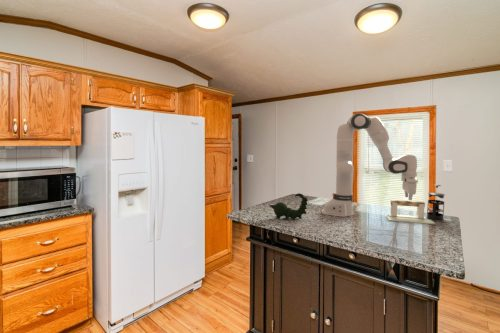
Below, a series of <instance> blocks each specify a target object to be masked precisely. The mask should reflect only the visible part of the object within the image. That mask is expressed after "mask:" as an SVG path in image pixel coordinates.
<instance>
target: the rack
mask: <svg viewBox="0 0 500 333" xmlns="http://www.w3.org/2000/svg"><path fill="white" fill-rule="evenodd" d="M425 206H426V203H425V204H419V207H416V215H408V214H398V205H397V203H394V202H392V205H391V204H390V213H388V217H400V218H413V219H427V217H426V216H425Z"/></svg>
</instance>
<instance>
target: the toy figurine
mask: <svg viewBox="0 0 500 333" xmlns="http://www.w3.org/2000/svg"><path fill="white" fill-rule="evenodd" d="M294 197H295V198H297V197H299V198H300V199H301V201H300V205H299V207H298V209H293V208H291V207H288V205H287V204H286V203H285V202H283V201H281V202H280V201H279V202H276V203H275V204H269V207H271V209H273V213H274V214H275V218H276V219H278V218H279V219H281V217H285V218H284V219H286V220H289V219H290V218H291V220H293V219H295V220H296V219H297V218H298V220H299V219H300V220H302V215H306V214H307V211H306V210H307V209H308V208H307V205H308V197H306V196H304V194H302V193H299V192H298V193H297V194H295V195H294Z"/></svg>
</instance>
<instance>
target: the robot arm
mask: <svg viewBox="0 0 500 333" xmlns="http://www.w3.org/2000/svg"><path fill="white" fill-rule="evenodd" d="M363 129H364V130H365V131H366V132H367V133H368V136H369V137H370V140H371V142H372V144H374V145H375V147H376V149H378V152H379V154H380V156H381V159H382V166H383V167H382V168H383V169H384V170H385V171H386V172H388V173H391V174H393V175H395V174H396V175H397V174H401V181H402V187H401V188H402V190H403V191H404V197H405V198H408V201H413V196H415V195H416V192H417V184H418V182H419V180H418V177H417V176H418V173H417V170H418V160H417V157H416V156H415V155H413V154H403V155H402V156H399V157H397V158H394V157H393V156H392V154H391V153H392V152H391V151H390V148H389V145H388V142H389V140H390V135H389V133H388V130H387V128H386V126H385V125H384V123H383V121H382V120H381V119H380V118H379V117H377V116H371V117H369V116H367V115H366V114H364V113H362V112H361V113H354V114H353V115H352V116H350V118H349V119H348V120H347V123H343V124H341V125H339V126H338V128H337V133H336V163H335V164H336V182H335V193H334V192H332V195H331V196H332V199H330V200H329V201H327V202H326V203H325V206H324V208H323V209H321V214H323V215H326V216H327V215H328V216H335V217H343V218H346V217H350V216H351V217H352V216H354V215H355V213H354V208H353V203H354V196H353V186H354V185H353V184H354V183H353V182H354V171H355V170H354V165H353V159H354V158H353V157H354V134H355V131H359V130H360V131H361V130H363Z"/></svg>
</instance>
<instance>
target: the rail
mask: <svg viewBox="0 0 500 333" xmlns="http://www.w3.org/2000/svg"><path fill="white" fill-rule="evenodd" d="M392 202H394V203H397V206H401V207H402V206H403V207H415V208H417V207H419V204H425V205H426V202H425V201H418V200H417V201H416V200H401V199H400V200H399V199H390V206H391V205H392Z"/></svg>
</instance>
